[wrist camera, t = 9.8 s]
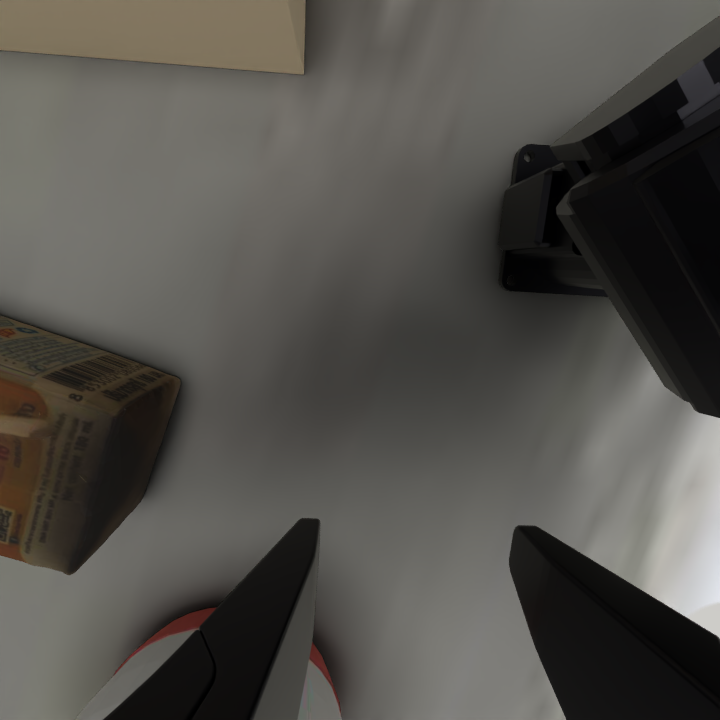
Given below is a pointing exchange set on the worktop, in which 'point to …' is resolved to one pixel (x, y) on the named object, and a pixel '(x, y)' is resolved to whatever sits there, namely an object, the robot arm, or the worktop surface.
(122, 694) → the citrus juicer
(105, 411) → the beverage carton
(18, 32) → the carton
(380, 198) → the worktop surface
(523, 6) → the worktop surface
